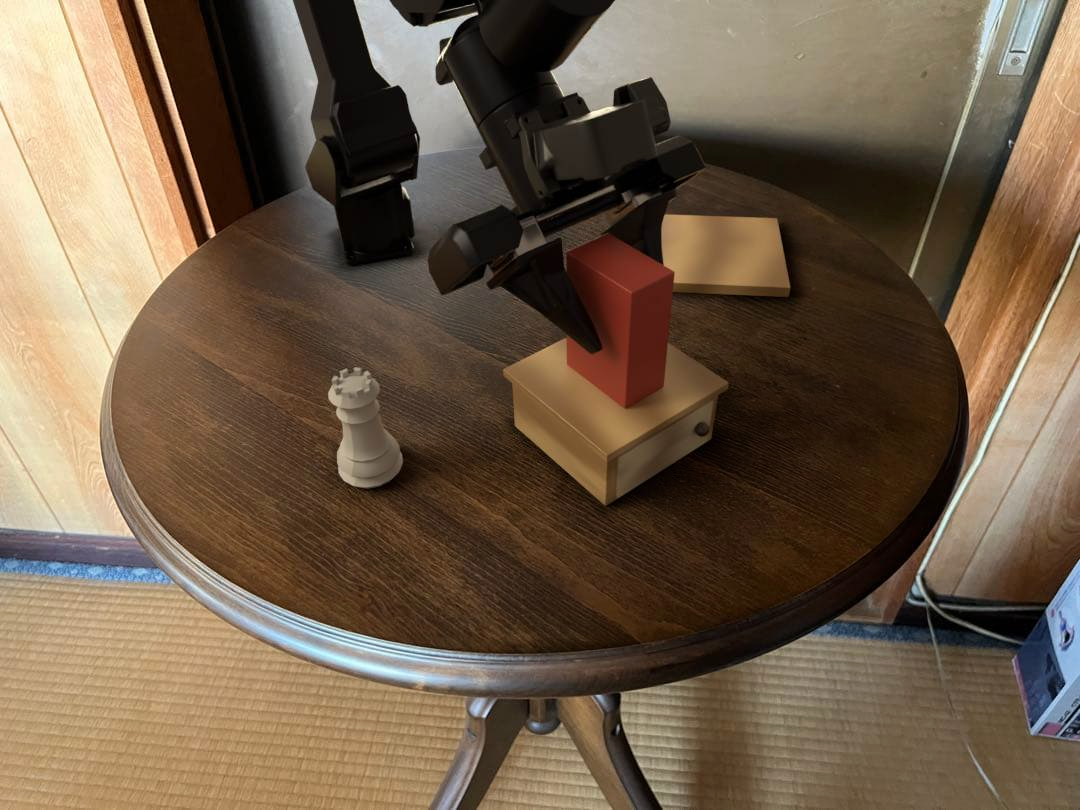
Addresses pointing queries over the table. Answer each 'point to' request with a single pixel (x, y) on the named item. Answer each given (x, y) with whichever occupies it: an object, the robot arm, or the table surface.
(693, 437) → the cabinet
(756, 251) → the board
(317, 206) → the table surface
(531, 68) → the robot arm
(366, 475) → the rook chess piece
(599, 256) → the tall red upright block
